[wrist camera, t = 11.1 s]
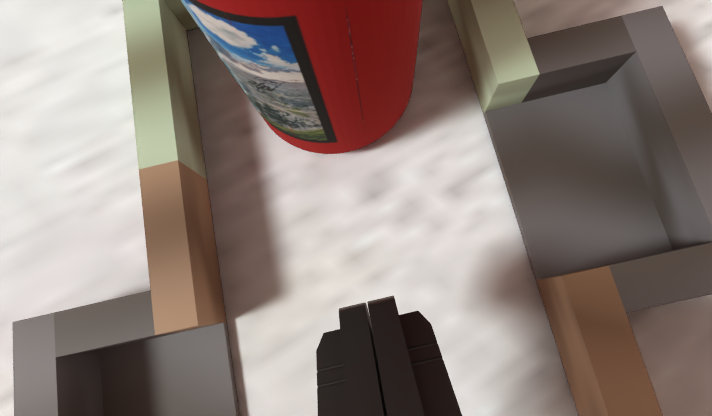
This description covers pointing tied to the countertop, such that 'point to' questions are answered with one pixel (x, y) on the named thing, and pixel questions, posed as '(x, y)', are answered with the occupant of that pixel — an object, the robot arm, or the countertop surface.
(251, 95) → the beverage can
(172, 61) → the channel
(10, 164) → the countertop surface
